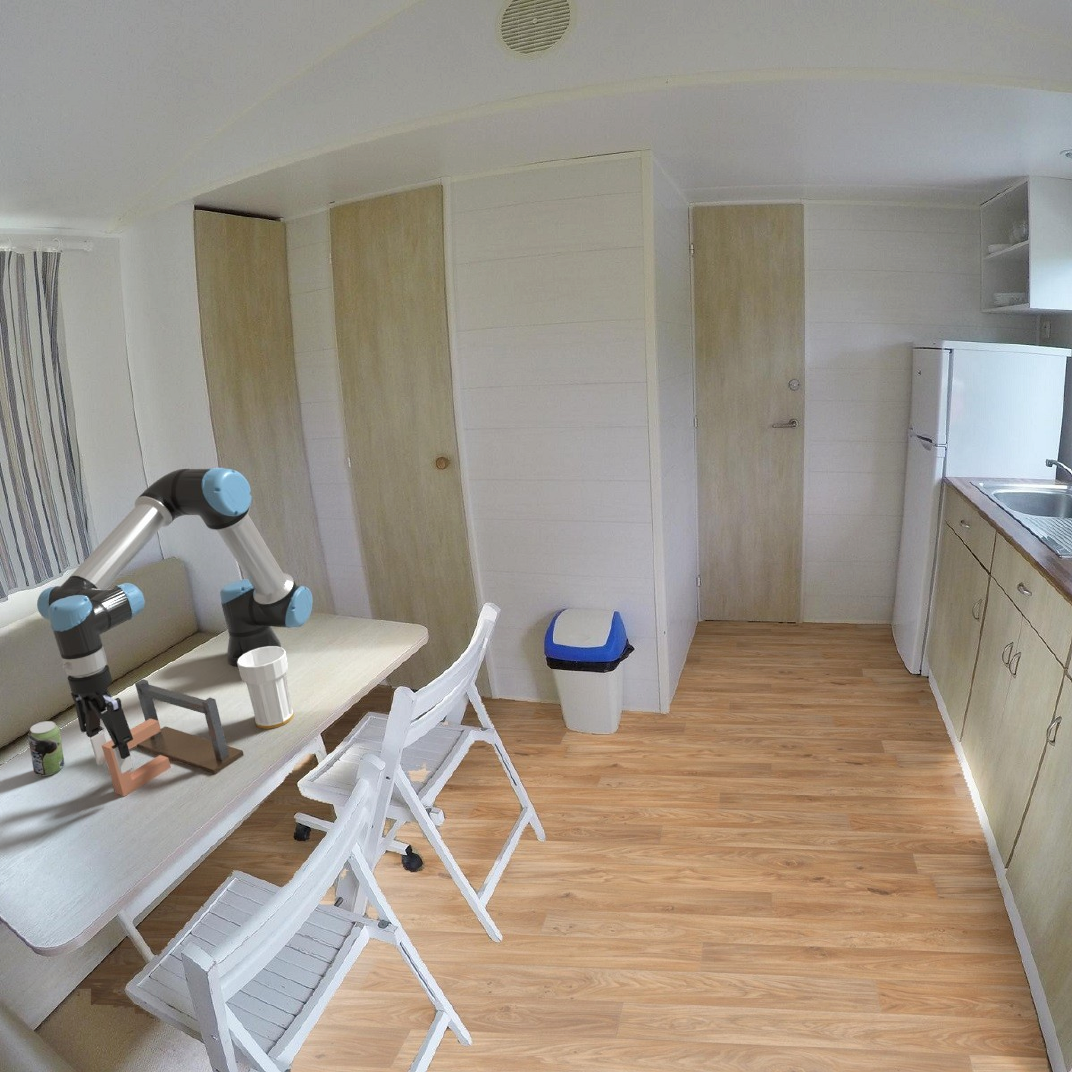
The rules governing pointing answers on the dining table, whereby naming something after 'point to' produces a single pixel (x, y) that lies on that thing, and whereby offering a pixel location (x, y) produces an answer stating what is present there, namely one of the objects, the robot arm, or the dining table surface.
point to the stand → (182, 744)
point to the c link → (144, 773)
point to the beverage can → (46, 748)
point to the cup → (267, 685)
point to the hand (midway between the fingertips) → (115, 765)
